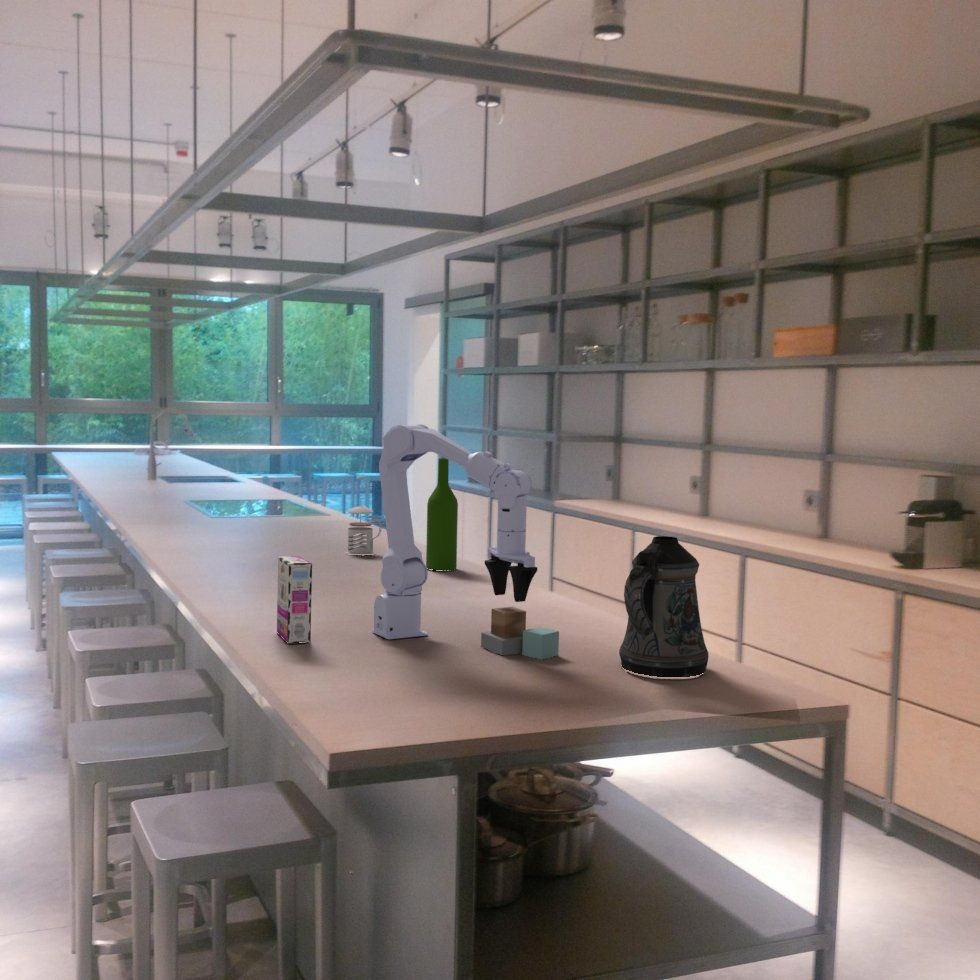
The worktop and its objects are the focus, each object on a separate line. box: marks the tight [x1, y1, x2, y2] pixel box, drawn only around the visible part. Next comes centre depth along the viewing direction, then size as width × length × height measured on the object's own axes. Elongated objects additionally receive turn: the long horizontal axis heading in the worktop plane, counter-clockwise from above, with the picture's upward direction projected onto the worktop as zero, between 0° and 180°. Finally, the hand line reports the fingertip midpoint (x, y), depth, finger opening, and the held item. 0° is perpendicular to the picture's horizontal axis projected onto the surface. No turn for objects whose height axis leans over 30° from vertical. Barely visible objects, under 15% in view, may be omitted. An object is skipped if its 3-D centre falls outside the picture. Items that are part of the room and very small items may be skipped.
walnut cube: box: [490, 606, 527, 638], centre depth 208 cm, size 5×5×5 cm
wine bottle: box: [425, 457, 459, 571], centre depth 304 cm, size 9×9×32 cm
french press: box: [345, 475, 383, 554], centre depth 330 cm, size 10×12×25 cm
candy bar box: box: [276, 555, 313, 643], centre depth 212 cm, size 11×5×16 cm, turn 23°
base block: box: [480, 630, 523, 656], centre depth 208 cm, size 8×8×3 cm
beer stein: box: [618, 535, 709, 677], centre depth 193 cm, size 16×19×25 cm
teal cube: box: [521, 626, 560, 660], centre depth 203 cm, size 5×5×5 cm
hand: (509, 598), depth 207 cm, fingers open, 7 cm apart
